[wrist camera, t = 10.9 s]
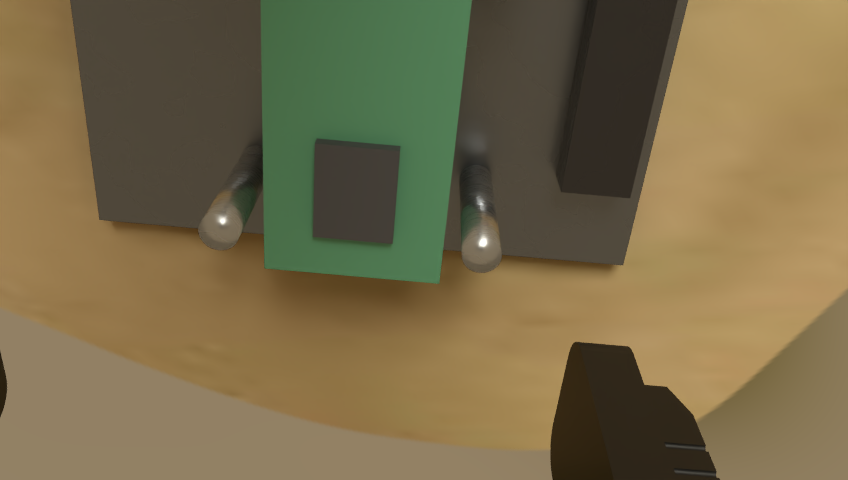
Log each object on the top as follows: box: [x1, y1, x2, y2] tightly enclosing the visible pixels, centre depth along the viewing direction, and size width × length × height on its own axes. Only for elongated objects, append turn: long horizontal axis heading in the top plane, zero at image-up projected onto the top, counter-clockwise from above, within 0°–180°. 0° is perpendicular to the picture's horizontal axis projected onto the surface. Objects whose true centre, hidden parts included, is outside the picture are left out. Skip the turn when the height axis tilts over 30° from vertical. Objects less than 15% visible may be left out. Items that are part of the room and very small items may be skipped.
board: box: [261, 0, 472, 284], centre depth 22 cm, size 12×6×3 cm, turn 175°
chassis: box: [70, 0, 688, 273], centre depth 24 cm, size 15×20×6 cm
